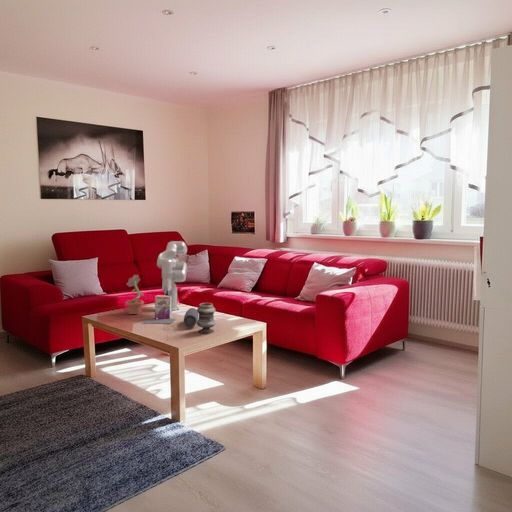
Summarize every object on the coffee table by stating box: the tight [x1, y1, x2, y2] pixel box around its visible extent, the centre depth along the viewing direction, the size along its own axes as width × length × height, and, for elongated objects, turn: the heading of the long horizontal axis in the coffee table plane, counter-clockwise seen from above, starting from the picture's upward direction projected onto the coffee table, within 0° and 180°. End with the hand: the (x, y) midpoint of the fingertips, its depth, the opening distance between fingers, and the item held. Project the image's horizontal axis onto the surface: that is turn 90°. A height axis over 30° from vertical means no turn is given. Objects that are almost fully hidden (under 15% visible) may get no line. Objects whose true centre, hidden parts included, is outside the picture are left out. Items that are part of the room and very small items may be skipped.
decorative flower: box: [124, 274, 145, 315], centre depth 342 cm, size 15×14×30 cm
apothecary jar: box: [196, 302, 216, 334], centre depth 291 cm, size 12×12×18 cm
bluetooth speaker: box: [183, 307, 199, 328], centre depth 309 cm, size 23×9×10 cm, turn 4°
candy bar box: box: [154, 294, 173, 319], centre depth 328 cm, size 11×5×16 cm, turn 84°
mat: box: [142, 317, 177, 325], centre depth 319 cm, size 14×20×1 cm
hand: (167, 300), depth 340 cm, fingers closed
